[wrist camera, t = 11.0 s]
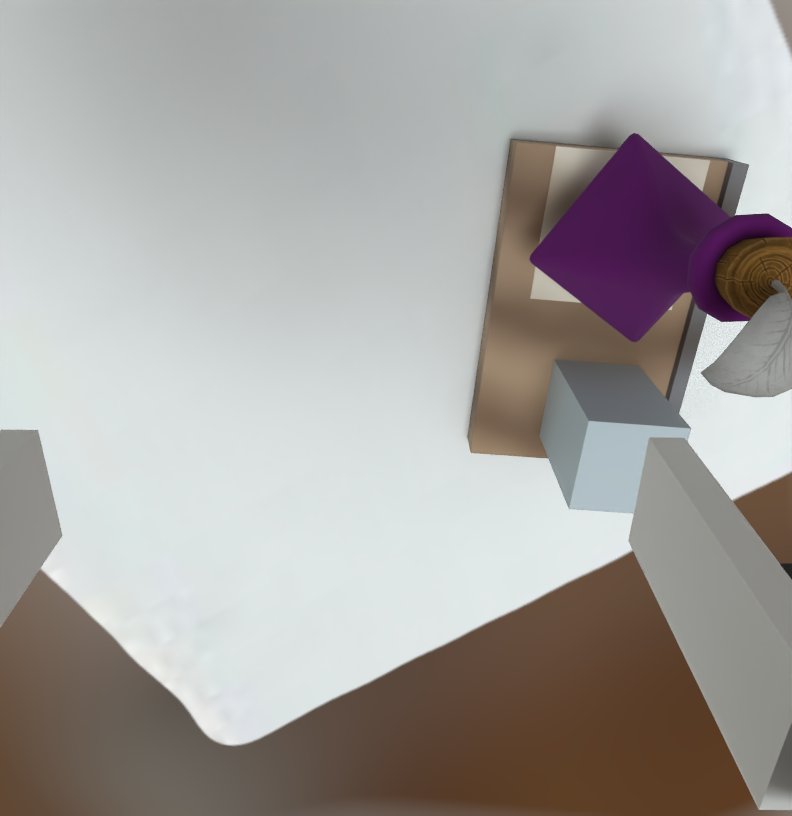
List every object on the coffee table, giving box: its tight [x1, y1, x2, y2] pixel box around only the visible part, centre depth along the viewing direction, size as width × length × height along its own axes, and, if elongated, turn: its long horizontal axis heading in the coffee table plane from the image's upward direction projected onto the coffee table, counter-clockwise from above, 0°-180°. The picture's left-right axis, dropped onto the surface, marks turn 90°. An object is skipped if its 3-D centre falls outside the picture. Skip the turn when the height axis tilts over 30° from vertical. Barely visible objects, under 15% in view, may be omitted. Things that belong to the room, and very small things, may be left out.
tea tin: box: [539, 359, 691, 513], centre depth 39 cm, size 5×5×8 cm
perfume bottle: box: [529, 133, 792, 397], centre depth 30 cm, size 8×8×18 cm
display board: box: [468, 139, 749, 458], centre depth 41 cm, size 18×12×3 cm, turn 175°
